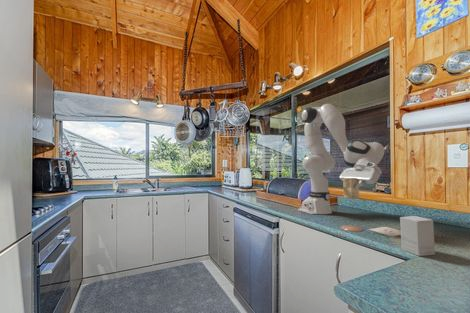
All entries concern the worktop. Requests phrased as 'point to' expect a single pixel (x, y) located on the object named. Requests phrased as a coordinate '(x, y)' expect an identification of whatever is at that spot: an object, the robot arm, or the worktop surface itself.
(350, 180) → the maple block
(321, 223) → the worktop surface
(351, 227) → the coaster
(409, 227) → the supplement box
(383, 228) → the card
